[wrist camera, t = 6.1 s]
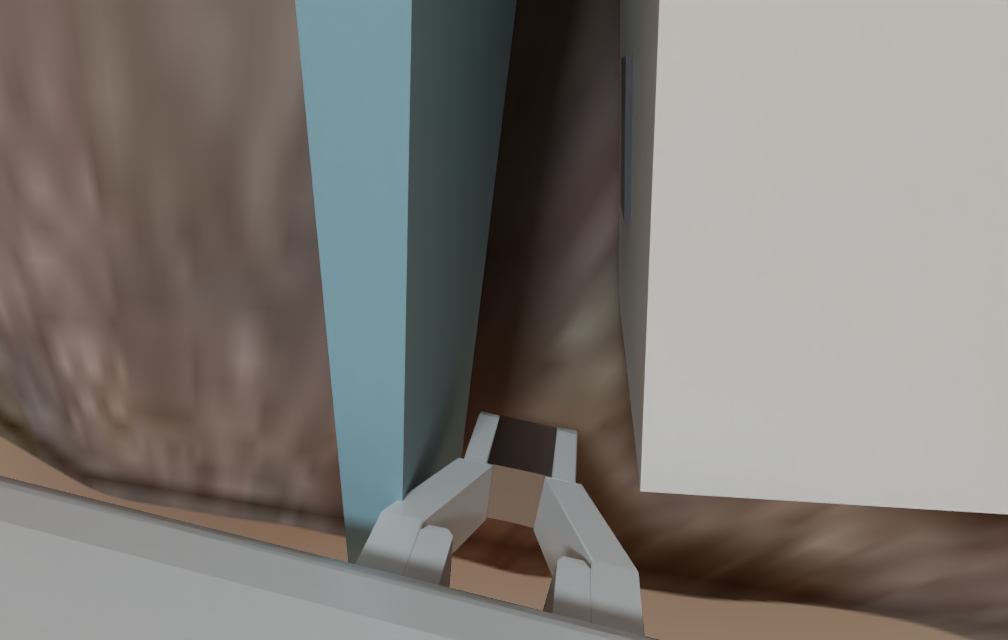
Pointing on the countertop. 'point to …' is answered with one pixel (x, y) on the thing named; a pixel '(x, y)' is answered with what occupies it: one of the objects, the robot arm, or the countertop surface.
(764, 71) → the knobbed cream box
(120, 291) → the countertop surface
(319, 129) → the side door
